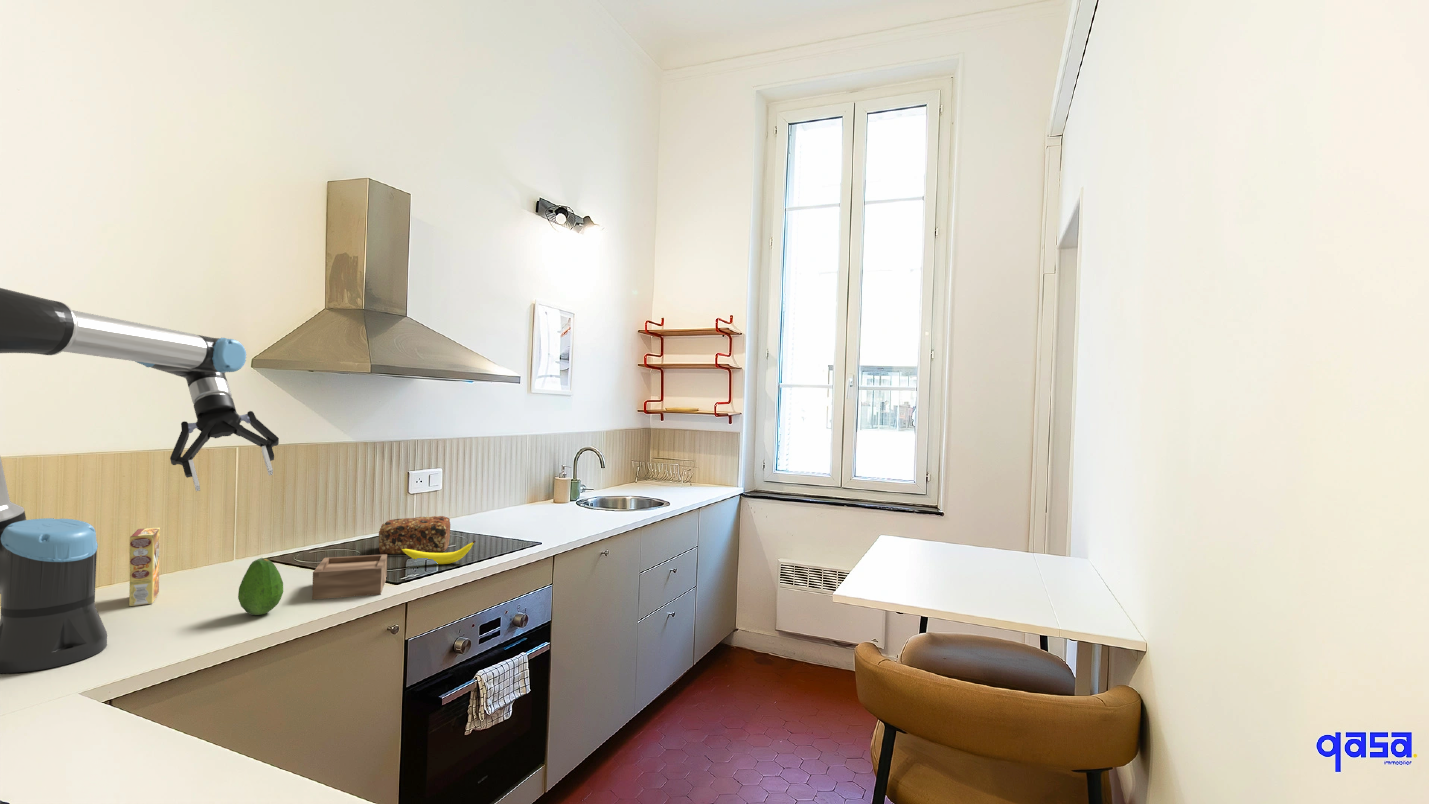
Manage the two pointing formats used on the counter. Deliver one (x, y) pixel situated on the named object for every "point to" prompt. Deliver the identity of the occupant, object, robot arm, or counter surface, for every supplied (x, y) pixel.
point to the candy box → (144, 566)
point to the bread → (415, 535)
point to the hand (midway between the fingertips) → (235, 480)
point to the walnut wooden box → (349, 576)
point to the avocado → (260, 587)
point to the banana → (440, 555)
